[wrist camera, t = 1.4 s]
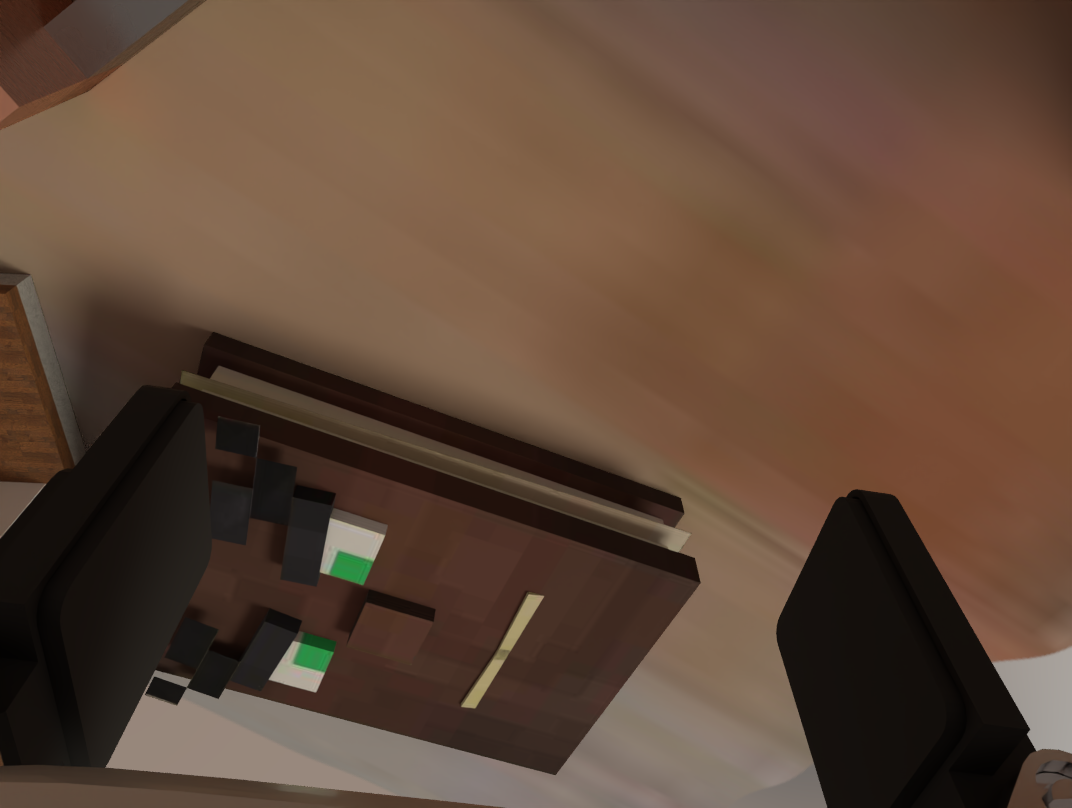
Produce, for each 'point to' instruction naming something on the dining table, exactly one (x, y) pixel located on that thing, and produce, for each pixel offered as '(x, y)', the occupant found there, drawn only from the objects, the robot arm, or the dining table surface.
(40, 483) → the white tower
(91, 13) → the track
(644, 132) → the dining table surface
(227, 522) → the decorative book
